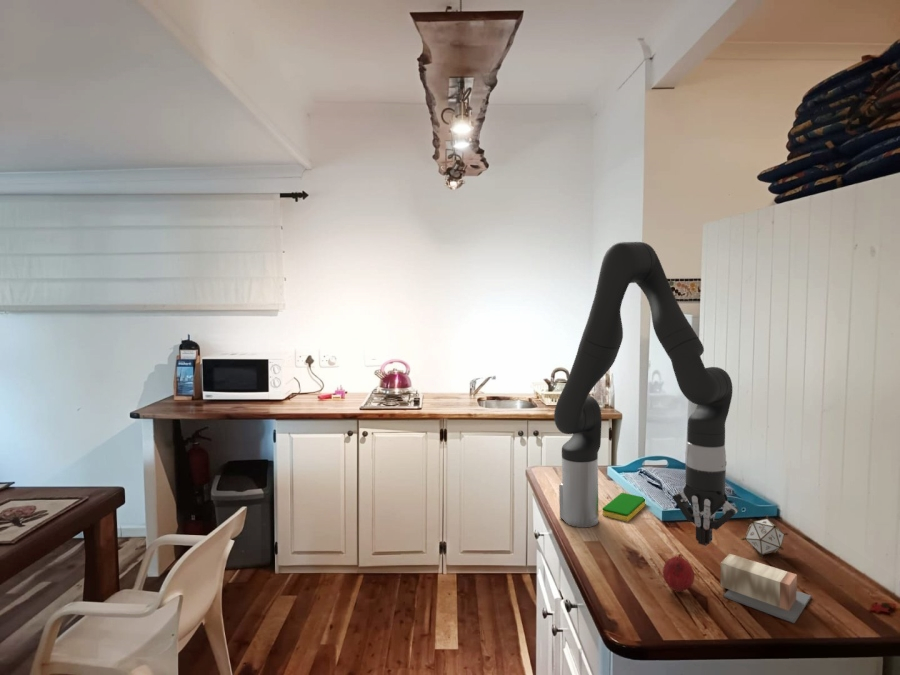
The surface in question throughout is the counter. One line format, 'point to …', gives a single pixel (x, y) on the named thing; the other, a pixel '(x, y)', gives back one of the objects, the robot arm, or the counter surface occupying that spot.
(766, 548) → the game die
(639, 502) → the dish sponge
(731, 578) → the beech block
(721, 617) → the counter surface
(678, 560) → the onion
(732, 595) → the mat
